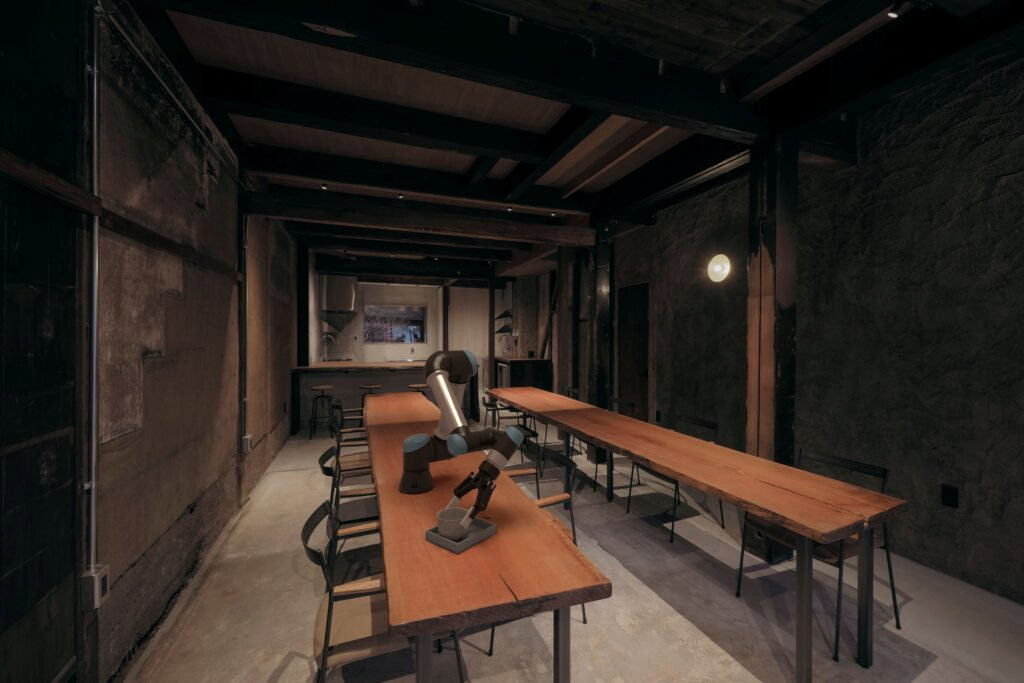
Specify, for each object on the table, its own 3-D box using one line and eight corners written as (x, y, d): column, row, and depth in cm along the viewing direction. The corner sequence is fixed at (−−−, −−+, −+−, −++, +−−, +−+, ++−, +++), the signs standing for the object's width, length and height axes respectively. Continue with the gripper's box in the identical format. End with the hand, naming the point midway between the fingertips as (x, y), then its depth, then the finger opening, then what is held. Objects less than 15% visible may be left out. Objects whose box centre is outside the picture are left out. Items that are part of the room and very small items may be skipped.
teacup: (441, 547, 133) (442, 522, 133) (432, 531, 143) (433, 508, 142) (482, 538, 139) (483, 515, 139) (471, 524, 149) (471, 502, 148)
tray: (425, 539, 139) (425, 530, 139) (464, 521, 154) (464, 513, 154) (457, 554, 130) (457, 544, 130) (496, 533, 144) (496, 524, 144)
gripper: (518, 480, 141) (479, 539, 132) (481, 463, 160) (445, 514, 151) (505, 467, 138) (465, 526, 129) (469, 452, 157) (431, 502, 148)
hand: (454, 520), depth 140 cm, fingers open, 11 cm apart
